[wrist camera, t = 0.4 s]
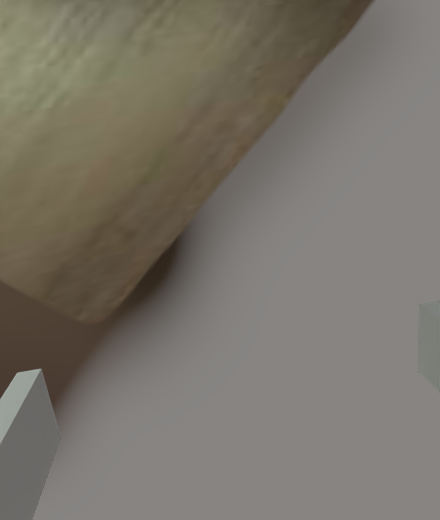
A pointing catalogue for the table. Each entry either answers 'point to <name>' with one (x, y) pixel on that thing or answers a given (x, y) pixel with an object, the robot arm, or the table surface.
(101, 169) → the table surface
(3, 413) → the robot arm
